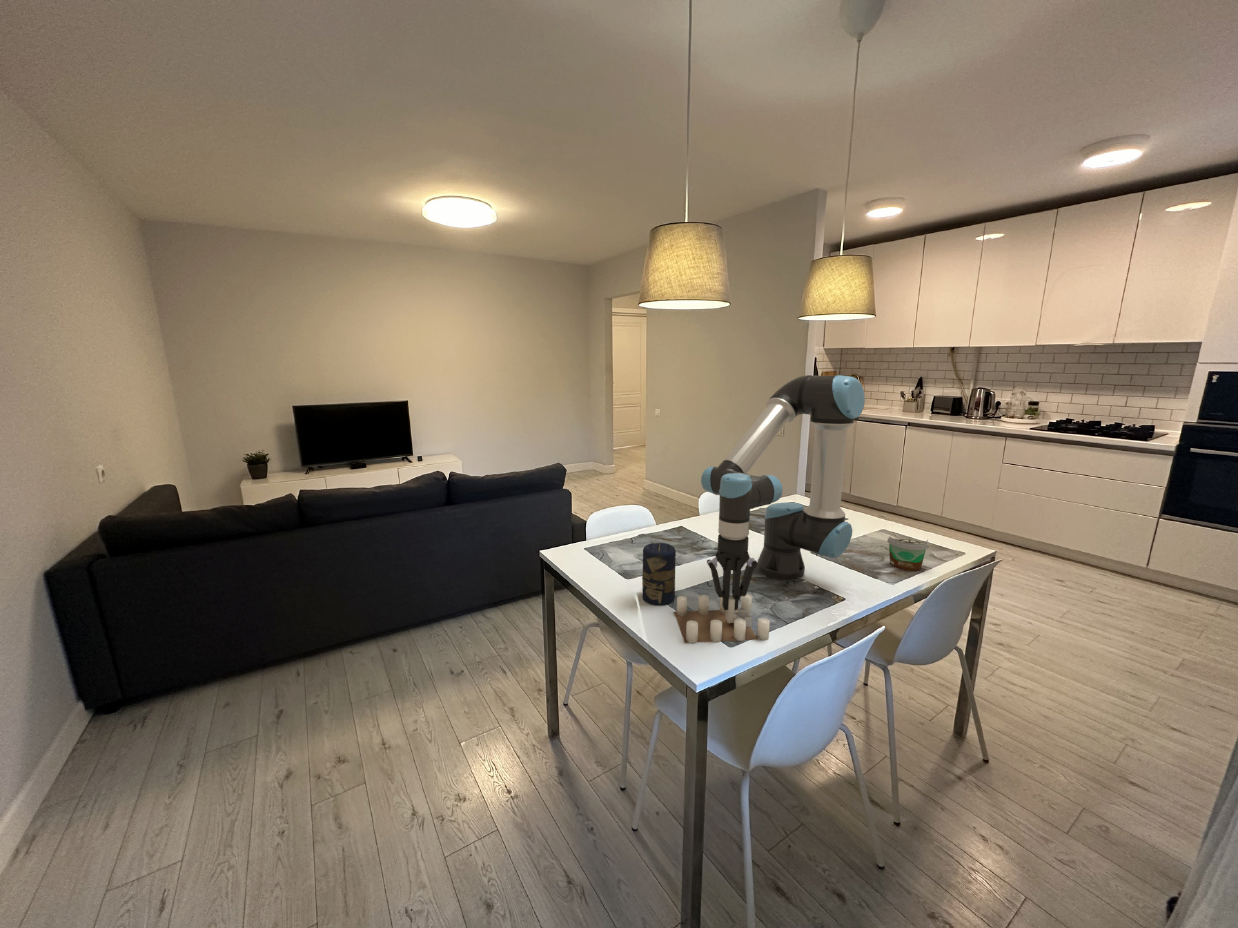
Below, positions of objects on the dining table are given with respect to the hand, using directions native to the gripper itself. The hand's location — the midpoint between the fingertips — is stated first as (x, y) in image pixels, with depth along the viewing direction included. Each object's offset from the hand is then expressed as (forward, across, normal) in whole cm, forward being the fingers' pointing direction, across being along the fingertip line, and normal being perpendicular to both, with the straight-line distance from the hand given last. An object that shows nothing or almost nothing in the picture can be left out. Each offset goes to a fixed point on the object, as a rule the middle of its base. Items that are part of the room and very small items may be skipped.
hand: (729, 620), depth 125 cm
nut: (+1, -3, 0) cm, 3 cm away
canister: (+3, +16, -16) cm, 23 cm away
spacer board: (+2, 0, 0) cm, 2 cm away
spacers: (+1, +2, 0) cm, 3 cm away
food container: (+3, -70, -32) cm, 77 cm away
